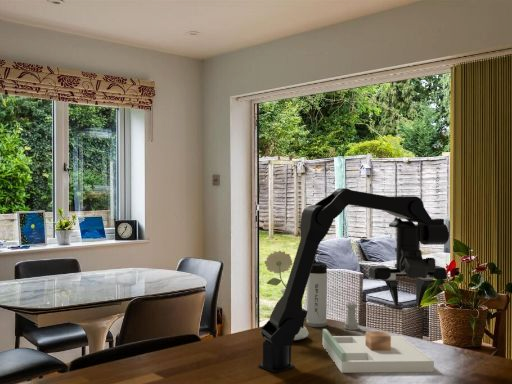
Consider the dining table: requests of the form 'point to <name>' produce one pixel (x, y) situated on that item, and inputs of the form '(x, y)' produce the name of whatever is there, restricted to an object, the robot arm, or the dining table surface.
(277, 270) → the flower in vase
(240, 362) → the dining table surface
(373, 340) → the block
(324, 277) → the travel mug
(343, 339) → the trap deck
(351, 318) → the rook chess piece
